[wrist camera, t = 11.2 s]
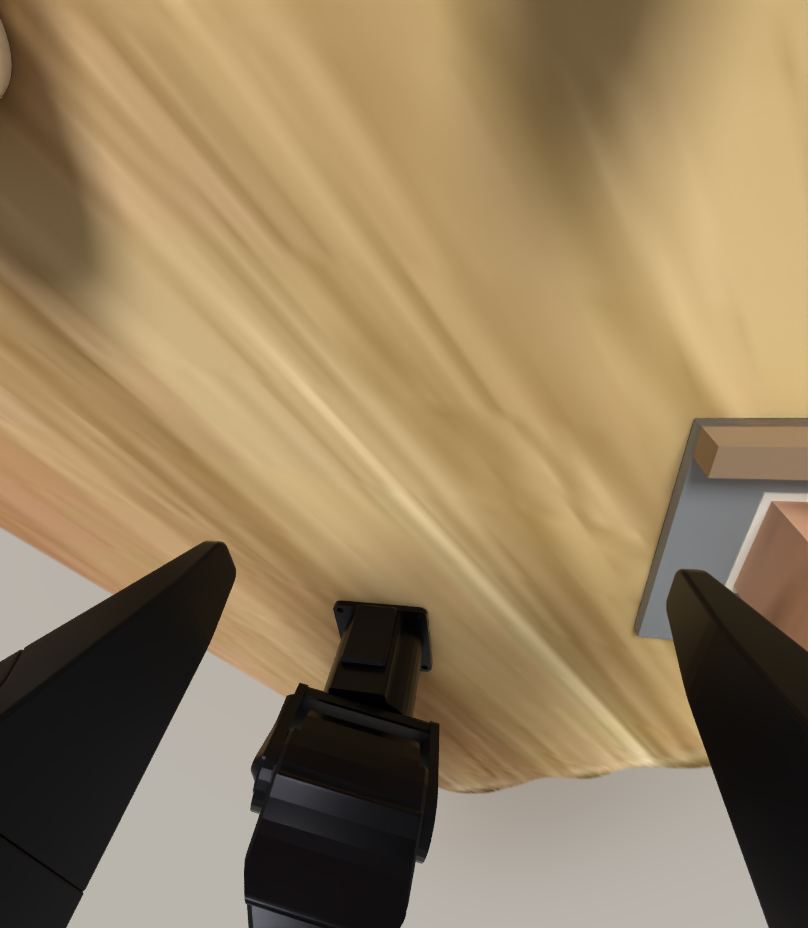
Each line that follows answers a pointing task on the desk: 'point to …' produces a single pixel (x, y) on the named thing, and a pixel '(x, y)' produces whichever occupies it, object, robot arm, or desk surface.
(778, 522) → the cube
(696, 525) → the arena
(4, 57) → the cup
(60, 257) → the desk surface
